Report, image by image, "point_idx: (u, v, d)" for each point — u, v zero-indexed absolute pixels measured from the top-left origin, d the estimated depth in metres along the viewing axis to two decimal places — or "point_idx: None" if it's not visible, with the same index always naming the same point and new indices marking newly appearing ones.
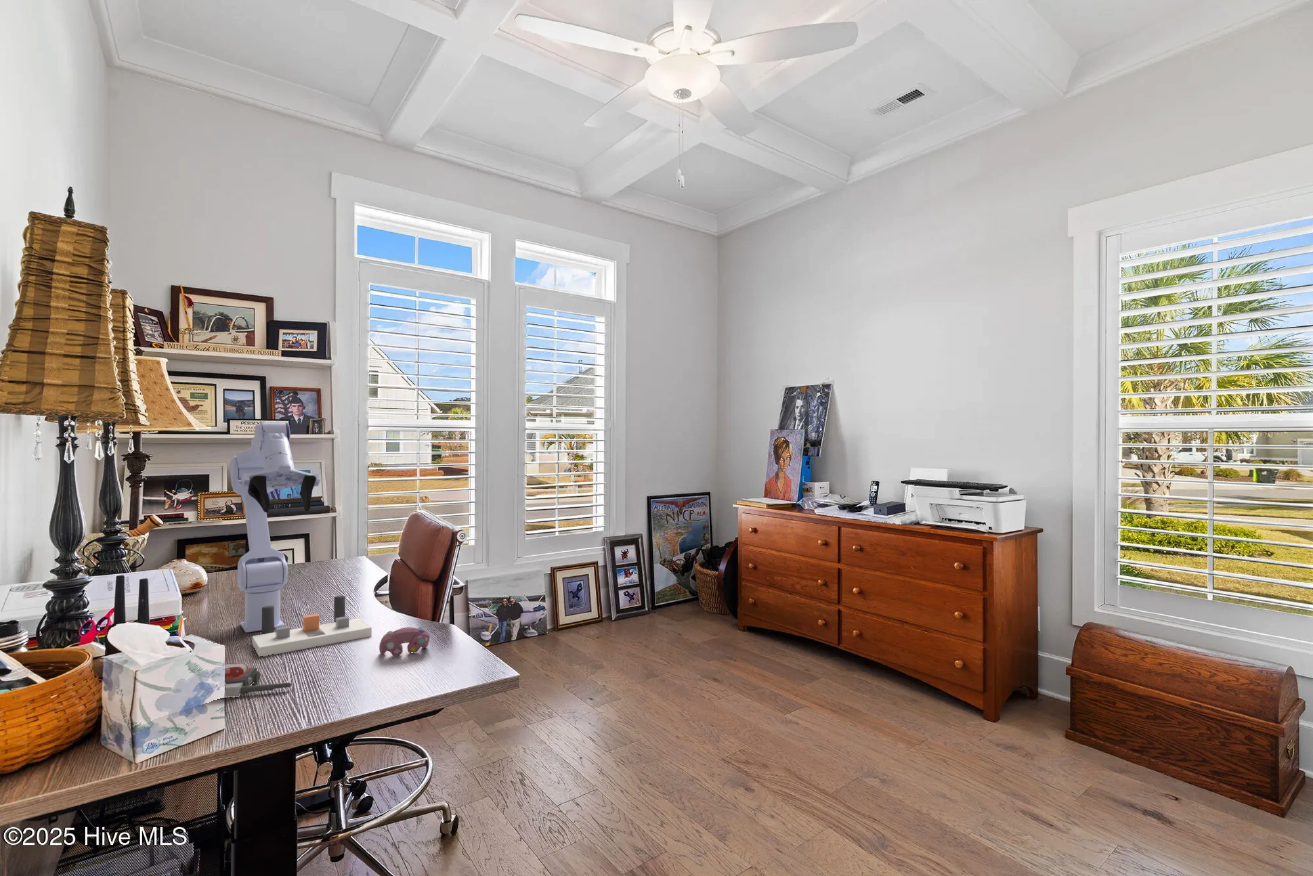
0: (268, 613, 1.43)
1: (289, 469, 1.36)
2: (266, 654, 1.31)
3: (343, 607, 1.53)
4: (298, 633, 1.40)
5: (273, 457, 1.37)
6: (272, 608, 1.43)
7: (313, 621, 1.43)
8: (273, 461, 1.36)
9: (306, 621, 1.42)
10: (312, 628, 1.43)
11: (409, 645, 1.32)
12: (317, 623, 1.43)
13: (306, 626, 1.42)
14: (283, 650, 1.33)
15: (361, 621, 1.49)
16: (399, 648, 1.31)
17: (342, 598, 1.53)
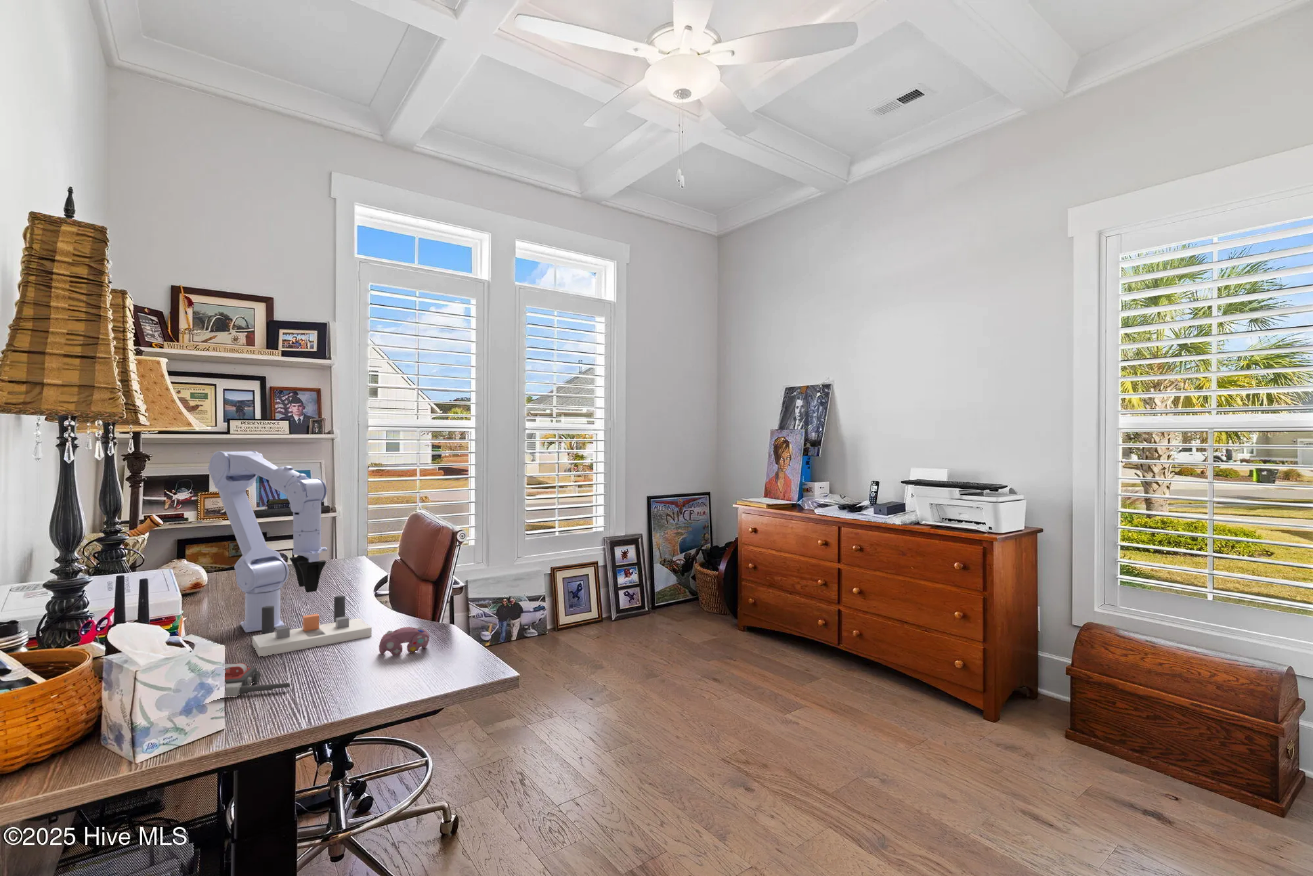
0: (268, 613, 1.43)
1: None
2: (266, 654, 1.31)
3: (343, 607, 1.53)
4: (298, 633, 1.40)
5: (320, 533, 1.47)
6: (272, 608, 1.43)
7: (313, 621, 1.43)
8: (319, 538, 1.47)
9: (306, 621, 1.42)
10: (312, 628, 1.43)
11: (409, 645, 1.32)
12: (317, 623, 1.43)
13: (306, 626, 1.42)
14: (283, 650, 1.33)
15: (361, 621, 1.49)
16: (399, 648, 1.31)
17: (342, 598, 1.53)
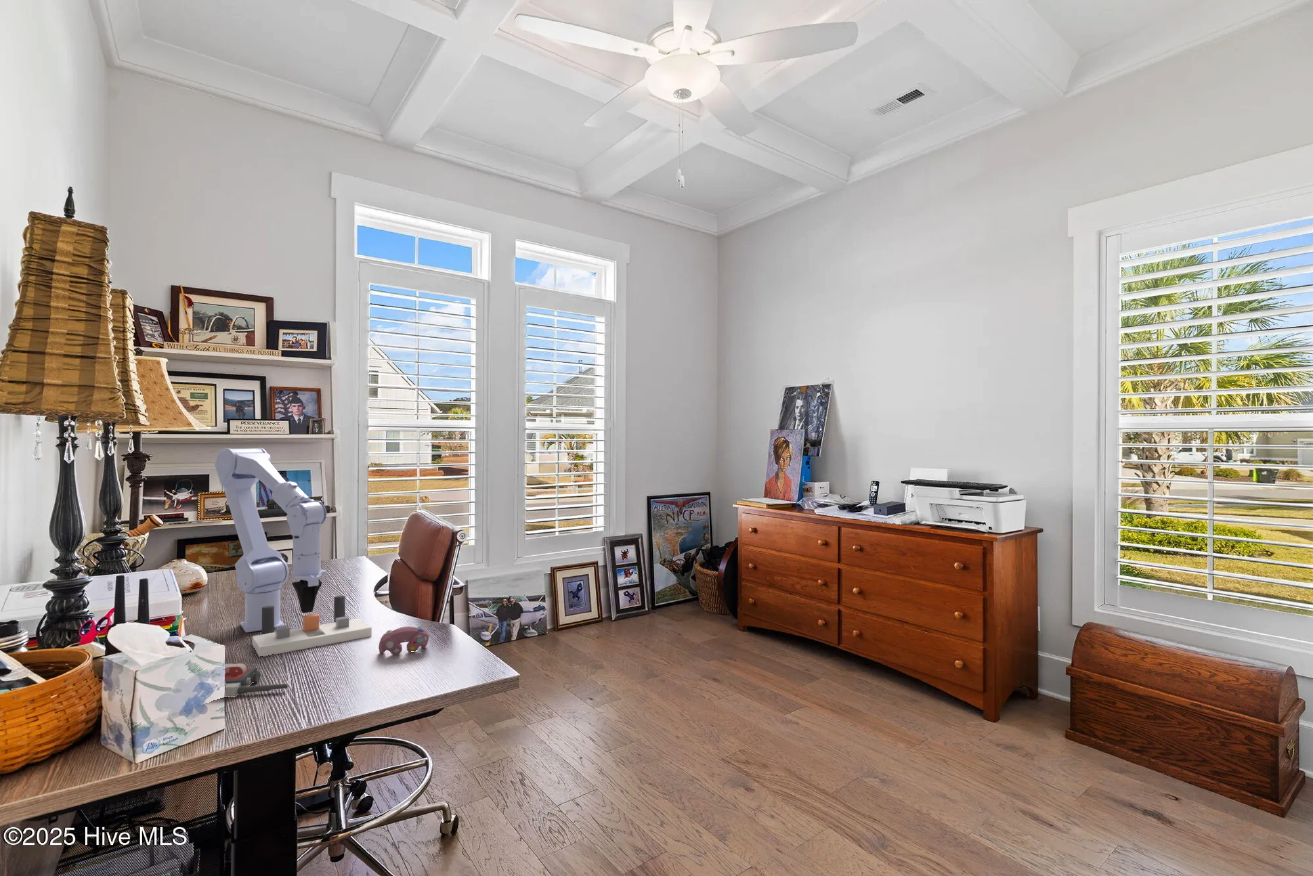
0: (268, 613, 1.43)
1: None
2: (266, 654, 1.31)
3: (343, 607, 1.53)
4: (298, 633, 1.40)
5: (319, 556, 1.47)
6: (272, 608, 1.43)
7: (313, 621, 1.43)
8: (319, 562, 1.47)
9: (306, 621, 1.42)
10: (312, 628, 1.43)
11: (408, 644, 1.33)
12: (317, 623, 1.43)
13: (306, 626, 1.42)
14: (283, 650, 1.33)
15: (361, 621, 1.49)
16: (398, 647, 1.32)
17: (342, 598, 1.53)
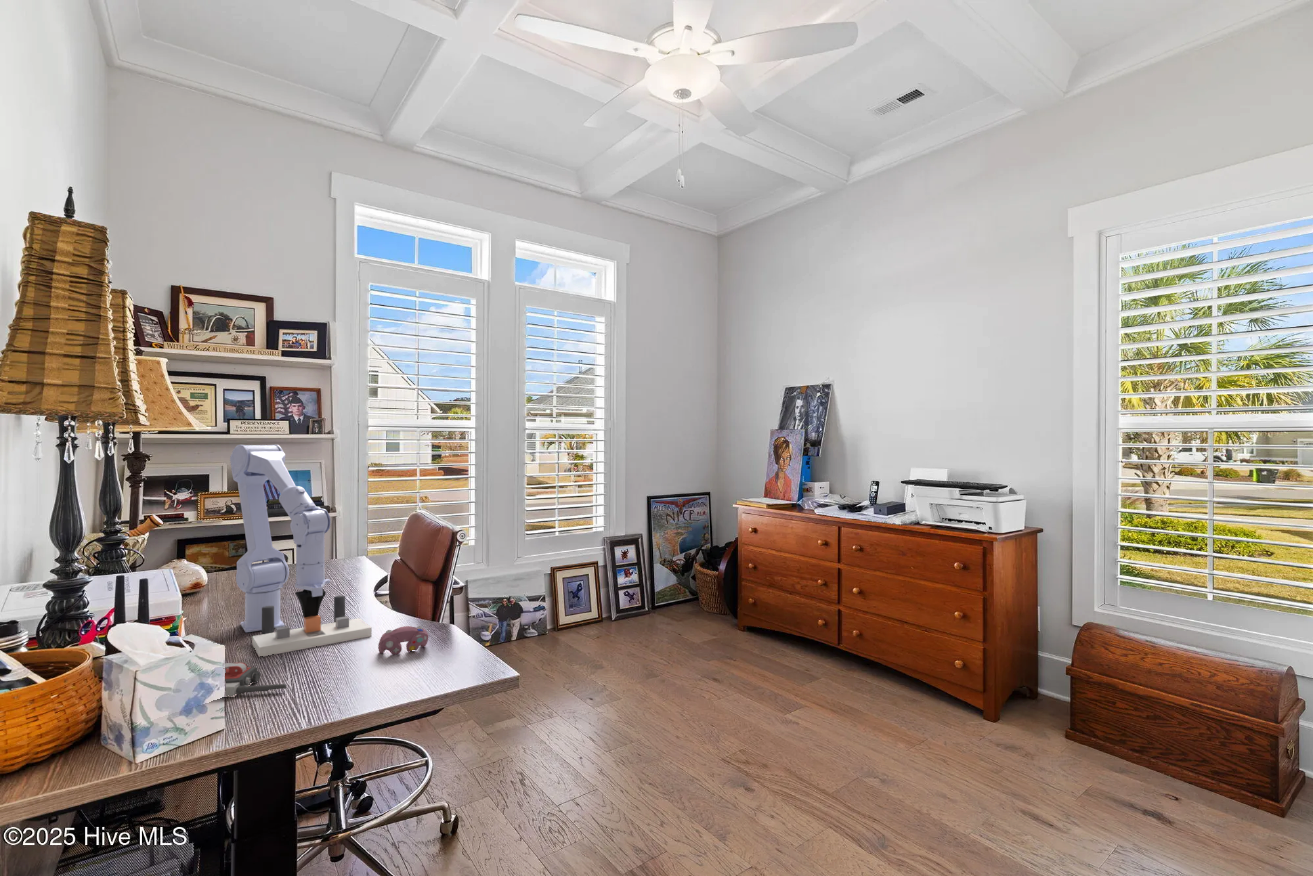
0: (268, 613, 1.43)
1: None
2: (266, 654, 1.31)
3: (343, 607, 1.53)
4: (298, 633, 1.40)
5: (323, 565, 1.44)
6: (272, 608, 1.43)
7: (314, 622, 1.42)
8: (323, 571, 1.44)
9: (307, 622, 1.41)
10: (313, 630, 1.41)
11: (408, 644, 1.33)
12: (318, 625, 1.42)
13: (307, 627, 1.41)
14: (283, 650, 1.33)
15: (361, 621, 1.49)
16: (398, 647, 1.32)
17: (342, 598, 1.53)
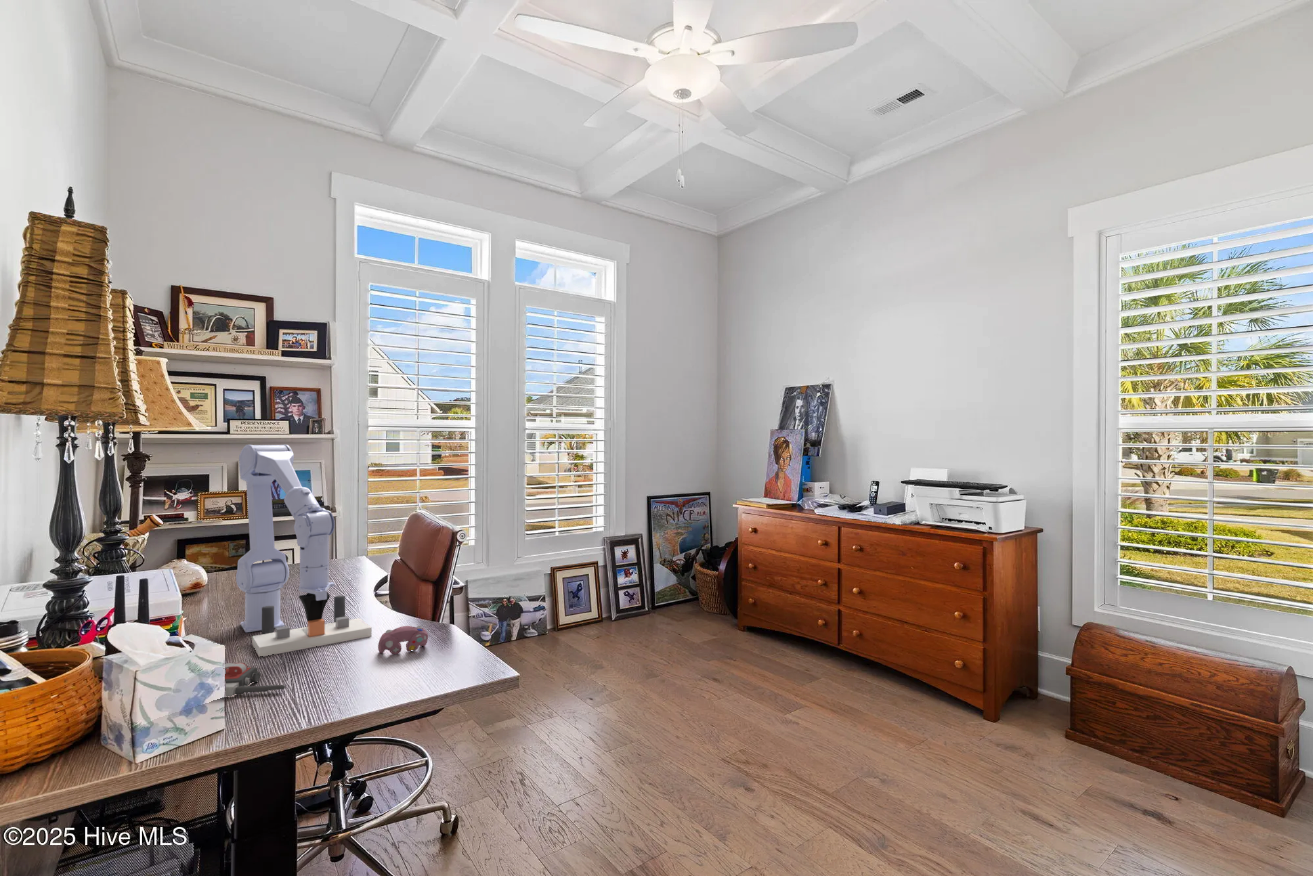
0: (268, 613, 1.43)
1: None
2: (266, 654, 1.31)
3: (343, 607, 1.53)
4: (298, 633, 1.40)
5: (328, 568, 1.41)
6: (272, 608, 1.43)
7: (318, 626, 1.39)
8: (327, 574, 1.41)
9: (311, 626, 1.38)
10: (317, 633, 1.39)
11: (408, 644, 1.33)
12: (322, 629, 1.39)
13: (311, 631, 1.38)
14: (283, 650, 1.33)
15: (361, 621, 1.49)
16: (398, 647, 1.32)
17: (342, 598, 1.53)
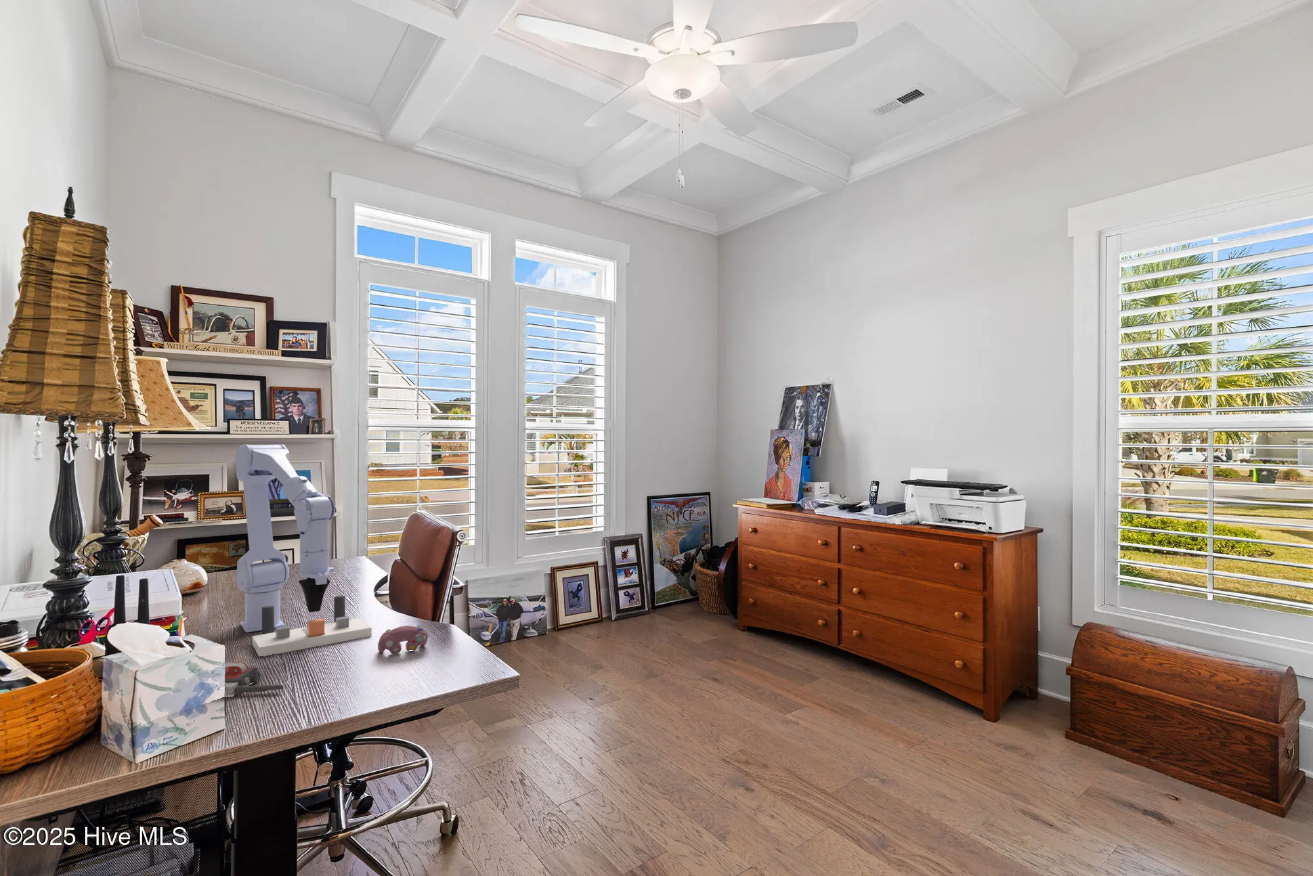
0: (268, 613, 1.43)
1: None
2: (266, 654, 1.31)
3: (343, 607, 1.53)
4: (298, 633, 1.40)
5: (328, 553, 1.41)
6: (272, 608, 1.43)
7: (318, 626, 1.39)
8: (327, 559, 1.41)
9: (311, 626, 1.38)
10: (317, 633, 1.39)
11: (408, 643, 1.33)
12: (322, 629, 1.39)
13: (311, 631, 1.38)
14: (283, 650, 1.33)
15: (361, 621, 1.49)
16: (398, 646, 1.32)
17: (342, 598, 1.53)
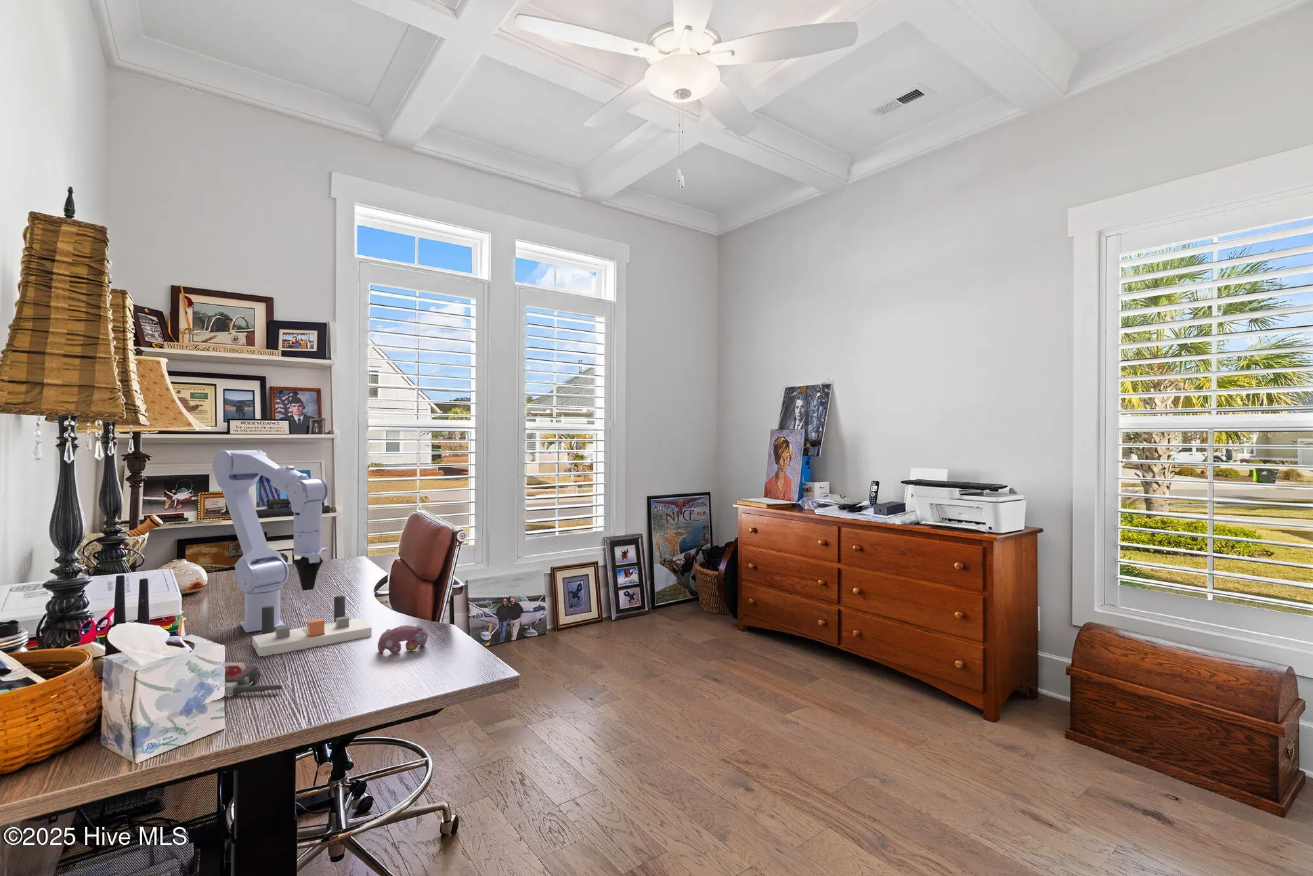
0: (268, 613, 1.43)
1: None
2: (266, 654, 1.31)
3: (343, 607, 1.53)
4: (298, 633, 1.40)
5: (320, 533, 1.47)
6: (272, 608, 1.43)
7: (318, 626, 1.39)
8: (320, 539, 1.46)
9: (311, 626, 1.38)
10: (317, 633, 1.39)
11: (407, 643, 1.34)
12: (322, 629, 1.39)
13: (311, 631, 1.38)
14: (283, 650, 1.33)
15: (361, 621, 1.49)
16: (397, 646, 1.32)
17: (342, 598, 1.53)
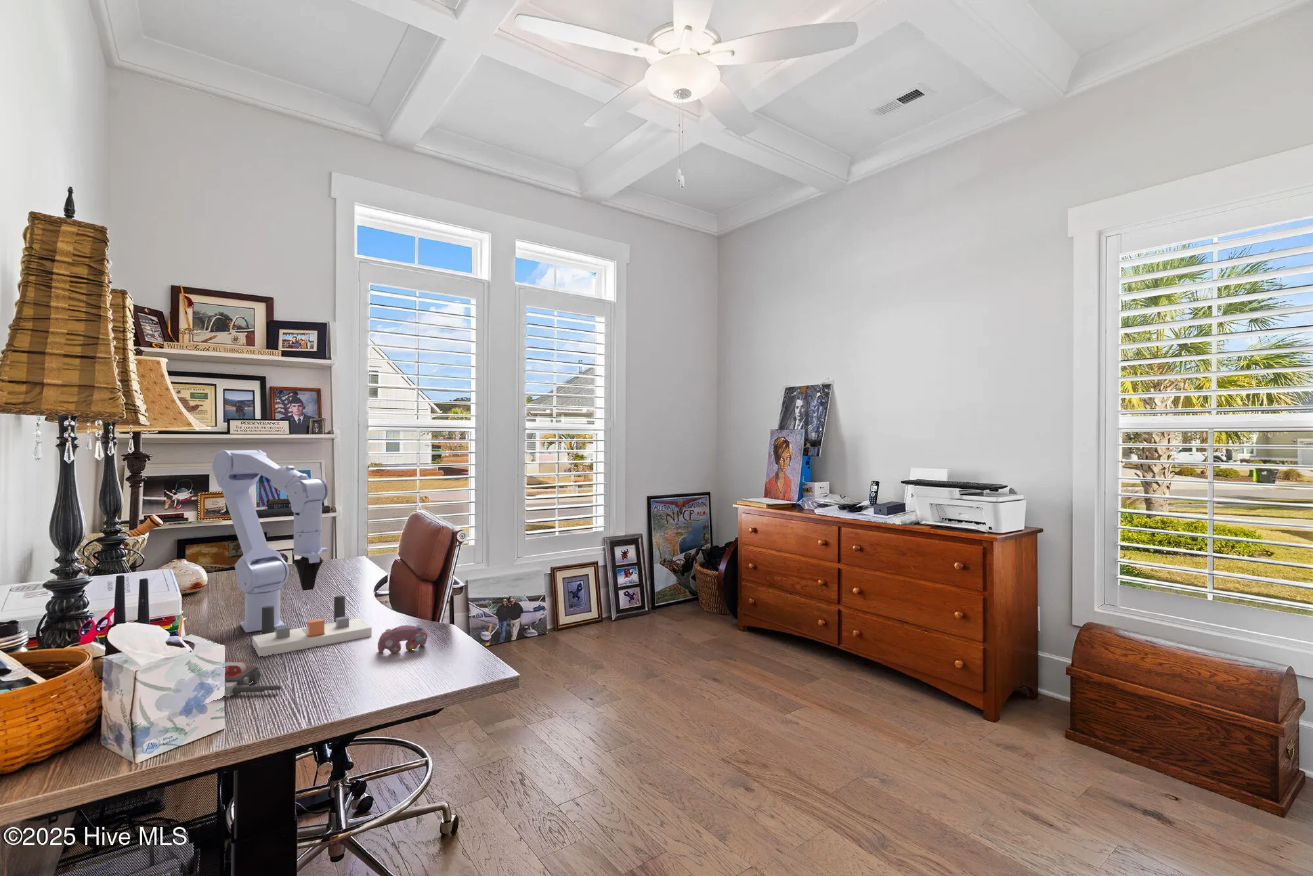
0: (268, 613, 1.43)
1: None
2: (266, 654, 1.31)
3: (343, 607, 1.53)
4: (298, 633, 1.40)
5: (320, 533, 1.47)
6: (272, 608, 1.43)
7: (318, 626, 1.39)
8: (320, 539, 1.46)
9: (311, 626, 1.38)
10: (317, 633, 1.39)
11: (407, 643, 1.34)
12: (322, 629, 1.39)
13: (311, 631, 1.38)
14: (283, 650, 1.33)
15: (361, 621, 1.49)
16: (397, 646, 1.32)
17: (342, 598, 1.53)
